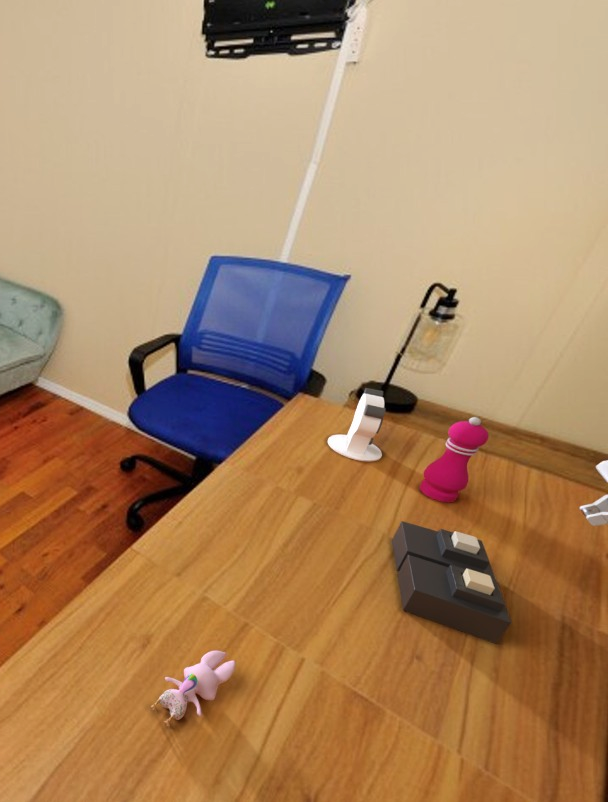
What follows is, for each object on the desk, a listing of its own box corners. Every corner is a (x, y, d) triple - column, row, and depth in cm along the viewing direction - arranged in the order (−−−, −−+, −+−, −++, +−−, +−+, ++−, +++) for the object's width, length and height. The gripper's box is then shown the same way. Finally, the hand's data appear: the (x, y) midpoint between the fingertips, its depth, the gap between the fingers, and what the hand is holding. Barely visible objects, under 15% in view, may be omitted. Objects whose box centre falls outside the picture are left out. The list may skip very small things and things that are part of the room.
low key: (472, 544, 91) (476, 537, 90) (475, 555, 89) (480, 548, 88) (450, 537, 93) (454, 530, 92) (453, 548, 90) (458, 541, 90)
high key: (485, 583, 84) (490, 575, 83) (490, 596, 82) (495, 588, 81) (461, 575, 85) (466, 568, 84) (465, 588, 83) (470, 580, 82)
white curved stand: (383, 468, 121) (407, 415, 114) (327, 453, 127) (346, 402, 120) (380, 443, 130) (402, 393, 123) (328, 431, 136) (346, 382, 129)
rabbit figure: (176, 743, 70) (247, 680, 76) (179, 723, 67) (252, 658, 72) (142, 703, 75) (211, 646, 80) (143, 683, 72) (215, 625, 77)
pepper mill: (419, 478, 118) (455, 405, 108) (460, 493, 113) (502, 417, 104) (414, 493, 113) (451, 417, 104) (456, 508, 109) (499, 431, 99)
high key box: (483, 603, 88) (502, 575, 85) (496, 644, 81) (517, 615, 78) (397, 574, 94) (411, 547, 90) (402, 610, 87) (418, 582, 84)
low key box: (470, 564, 95) (487, 537, 92) (481, 599, 89) (500, 571, 85) (391, 540, 101) (405, 513, 98) (396, 570, 94) (411, 543, 91)
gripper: (668, 433, 78) (548, 465, 87) (759, 515, 63) (602, 543, 72) (692, 465, 78) (570, 493, 87) (790, 554, 63) (628, 577, 72)
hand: (585, 516), depth 79 cm, fingers closed
